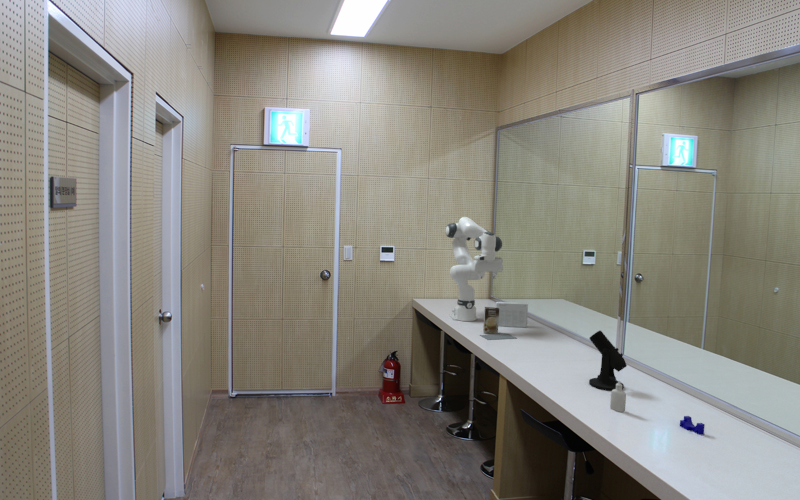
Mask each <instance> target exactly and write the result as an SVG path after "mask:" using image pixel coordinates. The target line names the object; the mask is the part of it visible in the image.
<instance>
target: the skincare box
mask: <svg viewBox="0 0 800 500" xmlns="http://www.w3.org/2000/svg"><path fill="white" fill-rule="evenodd" d="M495 308H499V323H498V327H513V328H528V308H529V303H528V302H509V301H508V302H507V301H505V302H504V301H496V302H495Z"/></svg>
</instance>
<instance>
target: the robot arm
mask: <svg viewBox="0 0 800 500" xmlns="http://www.w3.org/2000/svg"><path fill="white" fill-rule="evenodd" d="M445 235H446V237H447V238H450V239H453V240H452V241H451V247H452V248H451V249H452V251H453V252H452V253H453V256H454V260H455V261H456V263H457V264H456V265H455V264H454V265H453V266H451V268H450V269H449V276H450V278H451V279H452V280H454V282H455V283H456V284H457V288H458V299H457V302H456V305H455V306H453V308H452V310H451V312H452V313H450V314H449V317H450V318H451V319H452V320H455V321H459V322H460V321H462V322H474V321H476V320H478V319H479V317H478V316H477V307H476V306H475V305H476V302H475V301H476V300H475V288H474V287H473V286H472V285H470V284H469V283H468V281H478V280H483V279H484V277H485V276H486V273H490V272H493V273H494V274H493V275H492V276H491V279H496V277H497V275H498V272H503V269H504V268H503V267H504V266H503V261H504V259H503V258H502V257H500V256H499V257H497V256H496V253H497V252H499V251H500V250H501V249H502V247H503V241H502V239H501V237H500V236H496V233H494V232H492V231H491V232H490V231H489V230H488V229H486V228H484V227H483V226H481V225H479V224H477V223H476V222H475V221H474V220H473V219H471V218H470V217H467V216H462V217H461V218H460V219H459V220H458V221H457V222H453V223H452V222H451V223H447V225H446V226H445ZM471 239H474V241H473V243H474V244H473V245H474V246H473V247H474V249H475V250H477V251H479V252H481V253H480V254H478V255H475V256H473V257H474V258H472V255H471V253H470V251H469V247H468V245H467V241H468V242H469V241H471Z"/></svg>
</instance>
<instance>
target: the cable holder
mask: <svg viewBox="0 0 800 500" xmlns="http://www.w3.org/2000/svg"><path fill="white" fill-rule="evenodd" d="M705 426H706V425H705V423H703V422H697V423H696V425H695V424H694V423H693V420H692V417H691V416H689V415H684V416H683V419H681V420H679V427H680V428H682V429H684V430H686V431H692V432H694V433H695V434H697V435H699V436H701V435H704V434H705Z"/></svg>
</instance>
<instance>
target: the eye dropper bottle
mask: <svg viewBox="0 0 800 500" xmlns="http://www.w3.org/2000/svg"><path fill="white" fill-rule="evenodd" d="M617 381H618V383H617V384H616V389H613V390H612V391H610V404H609V405H610V406H609V408H610V410H613V411H614V412H618V413H625V412H626V400H627V393H626V392H625V391H624V390H622V384H623V383H622V382H621V381H620V380H617ZM620 382H621V383H622V384H621V383H620Z"/></svg>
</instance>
